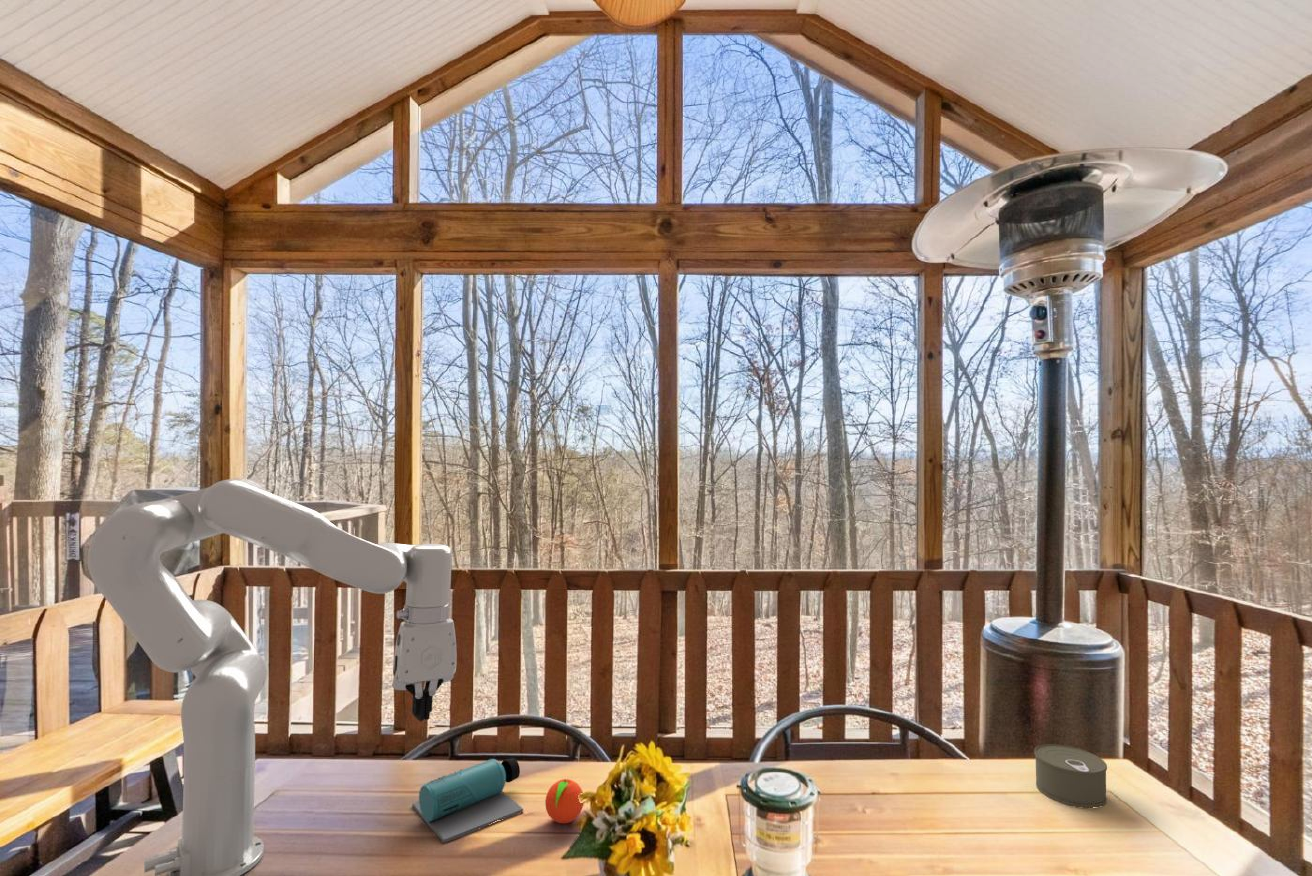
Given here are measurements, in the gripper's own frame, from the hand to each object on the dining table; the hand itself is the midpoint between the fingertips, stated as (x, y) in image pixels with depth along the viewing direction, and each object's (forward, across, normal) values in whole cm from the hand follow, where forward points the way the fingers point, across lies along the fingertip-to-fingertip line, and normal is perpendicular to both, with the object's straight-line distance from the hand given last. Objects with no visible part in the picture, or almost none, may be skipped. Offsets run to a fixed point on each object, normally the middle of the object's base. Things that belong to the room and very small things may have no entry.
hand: (421, 717), depth 115 cm
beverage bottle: (+15, 0, -1) cm, 15 cm away
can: (+15, +103, -70) cm, 125 cm away
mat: (+19, +9, 0) cm, 21 cm away
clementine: (+18, +21, -16) cm, 32 cm away
